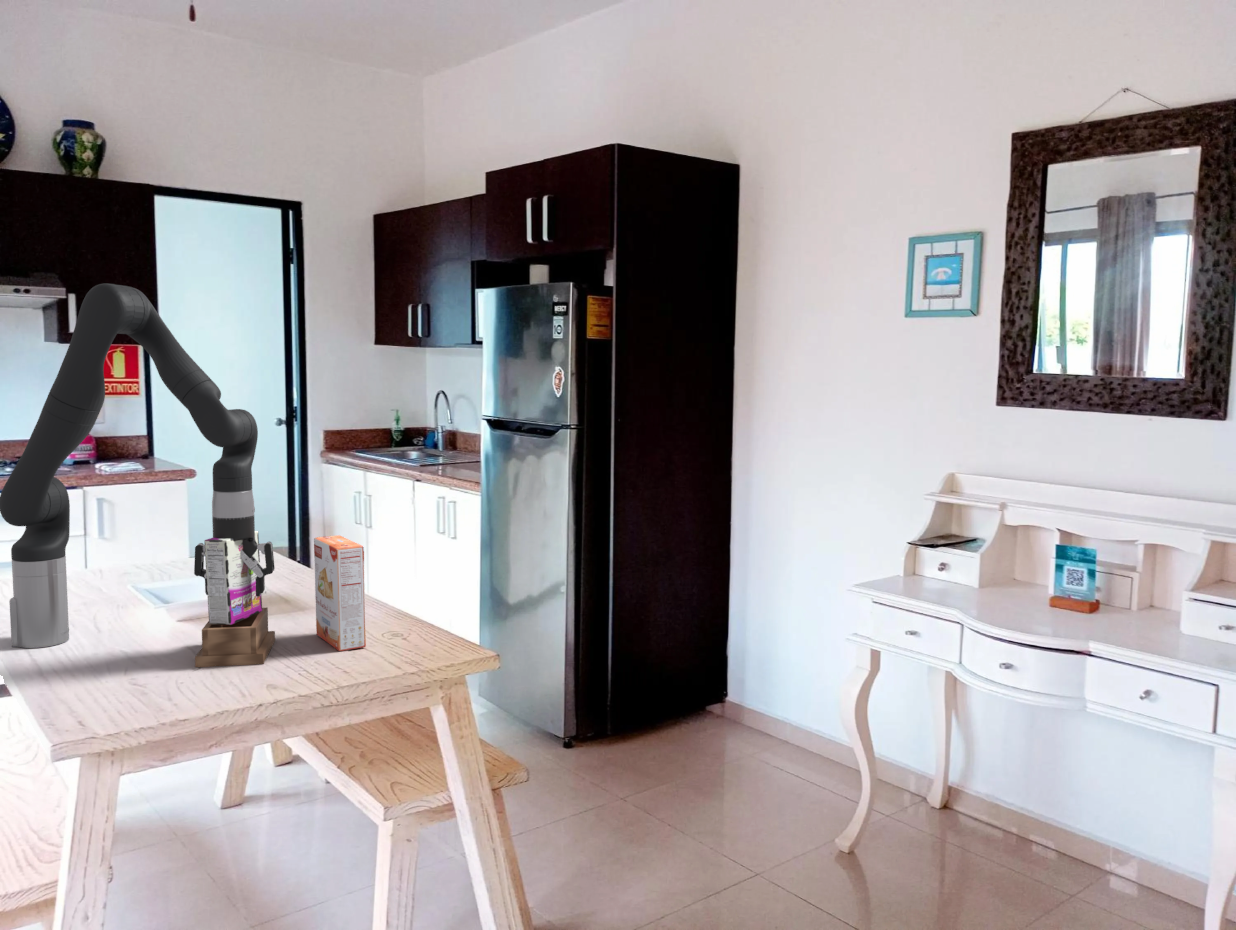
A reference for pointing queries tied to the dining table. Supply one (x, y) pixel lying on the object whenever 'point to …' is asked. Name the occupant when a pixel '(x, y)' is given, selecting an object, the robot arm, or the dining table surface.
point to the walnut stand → (236, 642)
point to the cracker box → (340, 592)
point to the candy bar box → (230, 582)
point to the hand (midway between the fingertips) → (235, 596)
